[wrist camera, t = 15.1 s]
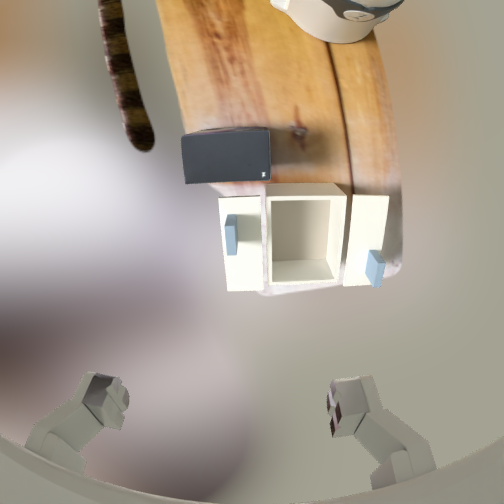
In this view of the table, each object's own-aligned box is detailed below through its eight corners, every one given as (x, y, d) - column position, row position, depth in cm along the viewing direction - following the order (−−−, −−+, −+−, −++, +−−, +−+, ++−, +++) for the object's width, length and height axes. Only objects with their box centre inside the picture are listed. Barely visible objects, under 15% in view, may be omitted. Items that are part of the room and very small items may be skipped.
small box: (268, 124, 39) (271, 128, 30) (269, 166, 42) (273, 182, 33) (197, 128, 39) (179, 134, 30) (200, 169, 42) (184, 187, 33)
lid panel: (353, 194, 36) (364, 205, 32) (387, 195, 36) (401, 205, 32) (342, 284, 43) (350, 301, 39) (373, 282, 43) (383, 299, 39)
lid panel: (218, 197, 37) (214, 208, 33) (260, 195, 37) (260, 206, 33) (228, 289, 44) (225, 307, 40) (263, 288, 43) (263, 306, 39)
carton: (264, 183, 43) (266, 196, 37) (333, 183, 43) (346, 195, 37) (266, 262, 50) (268, 285, 43) (328, 260, 49) (337, 282, 43)
